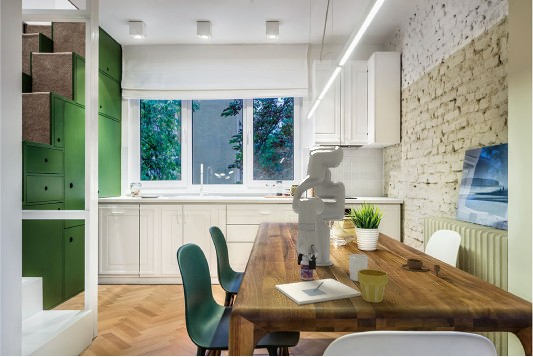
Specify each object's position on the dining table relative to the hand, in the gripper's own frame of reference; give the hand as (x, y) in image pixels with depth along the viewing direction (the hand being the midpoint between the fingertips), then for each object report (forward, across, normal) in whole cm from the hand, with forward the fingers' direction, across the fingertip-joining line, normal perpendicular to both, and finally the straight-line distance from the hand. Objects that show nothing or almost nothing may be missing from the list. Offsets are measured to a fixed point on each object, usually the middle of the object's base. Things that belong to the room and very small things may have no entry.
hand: (306, 267), depth 152 cm
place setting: (+5, +7, +54) cm, 55 cm away
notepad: (+5, +16, -4) cm, 18 cm away
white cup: (+5, +8, +20) cm, 23 cm away
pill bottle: (+5, -1, 0) cm, 5 cm away
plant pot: (+6, +31, +10) cm, 33 cm away
